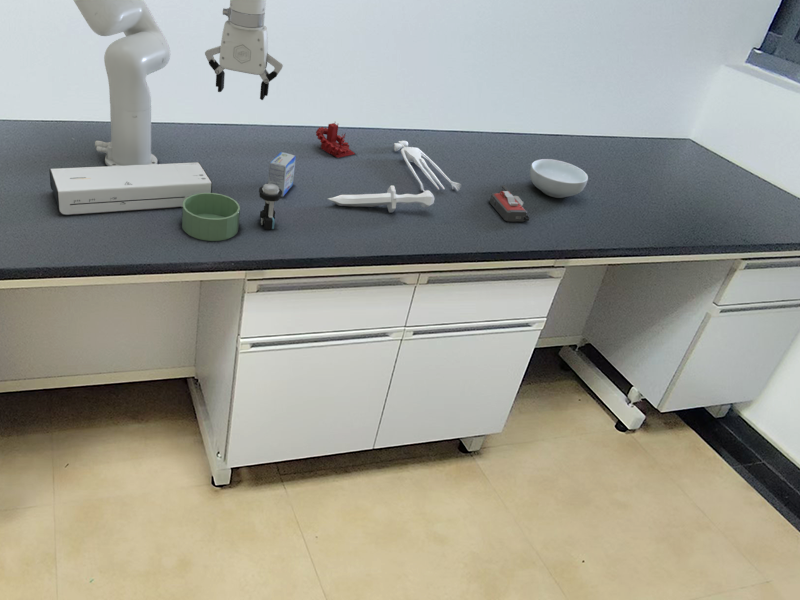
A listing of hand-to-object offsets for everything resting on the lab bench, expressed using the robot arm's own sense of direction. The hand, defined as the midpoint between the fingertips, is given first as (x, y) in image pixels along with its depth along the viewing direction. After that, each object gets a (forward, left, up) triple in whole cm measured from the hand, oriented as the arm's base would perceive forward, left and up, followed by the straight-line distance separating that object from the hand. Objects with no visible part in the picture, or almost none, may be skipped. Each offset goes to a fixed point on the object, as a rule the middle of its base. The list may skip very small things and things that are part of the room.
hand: (241, 94), depth 177 cm
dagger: (+36, +6, -26) cm, 45 cm away
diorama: (+21, +39, -26) cm, 52 cm away
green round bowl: (-2, -17, -26) cm, 31 cm away
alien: (+46, +36, -26) cm, 64 cm away
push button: (+10, -11, -26) cm, 30 cm away
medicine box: (+10, +8, -26) cm, 29 cm away
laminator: (-22, -10, -26) cm, 36 cm away
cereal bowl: (+87, +38, -26) cm, 99 cm away
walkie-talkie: (+71, +22, -26) cm, 79 cm away
